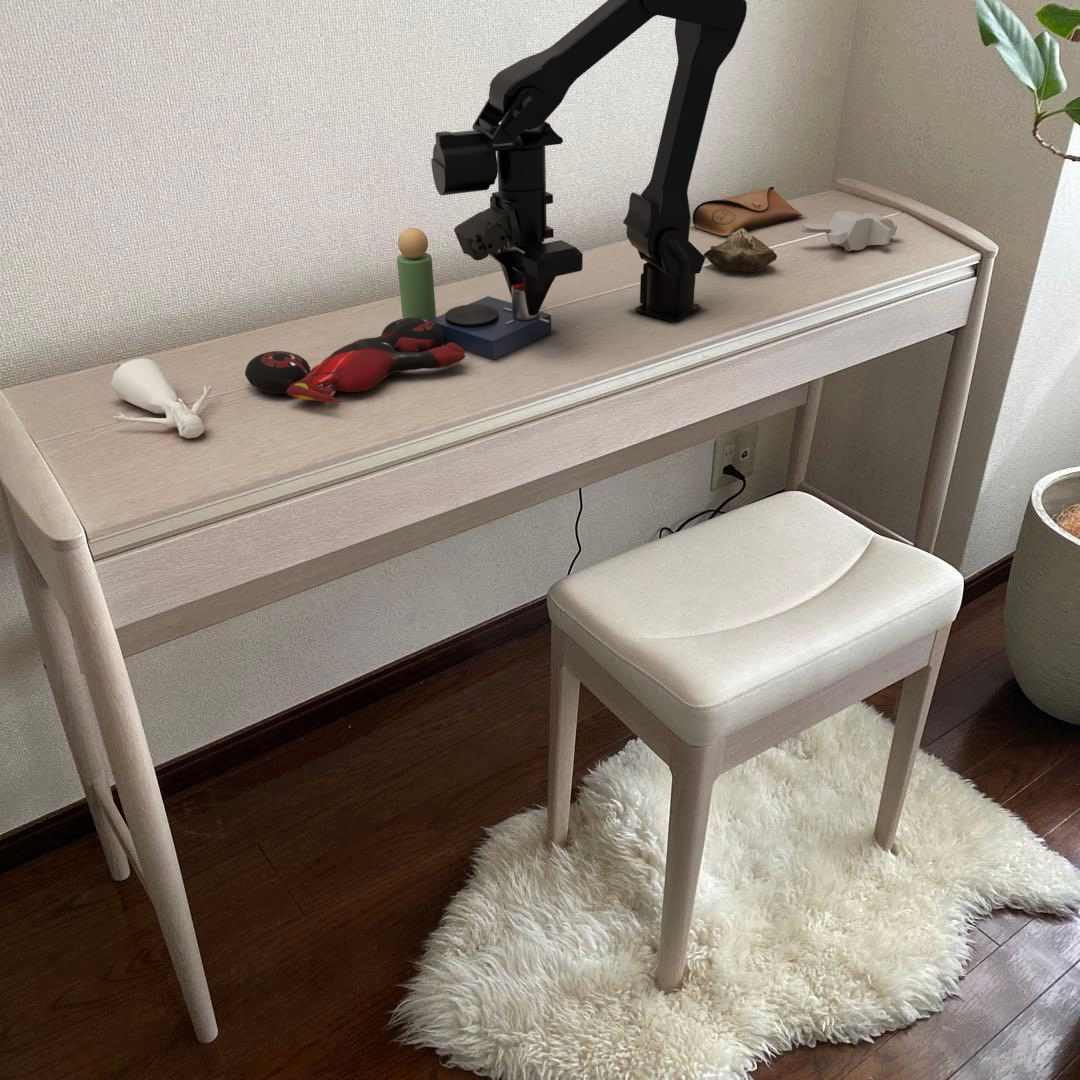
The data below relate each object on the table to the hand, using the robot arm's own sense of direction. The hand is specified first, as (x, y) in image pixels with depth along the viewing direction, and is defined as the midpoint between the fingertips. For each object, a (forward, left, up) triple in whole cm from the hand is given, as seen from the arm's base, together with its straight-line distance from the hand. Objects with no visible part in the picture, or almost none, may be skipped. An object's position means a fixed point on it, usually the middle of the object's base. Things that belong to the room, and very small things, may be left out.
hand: (525, 310), depth 135 cm
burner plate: (+5, +5, -1) cm, 7 cm away
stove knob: (0, 0, -1) cm, 1 cm away
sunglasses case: (+2, -58, -3) cm, 59 cm away
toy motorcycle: (+6, +22, -3) cm, 24 cm away
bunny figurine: (-17, -57, -3) cm, 59 cm away
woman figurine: (+17, +42, -3) cm, 46 cm away
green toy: (+13, +6, -3) cm, 15 cm away
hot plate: (+2, +2, -3) cm, 5 cm away
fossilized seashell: (-9, -38, -3) cm, 39 cm away
